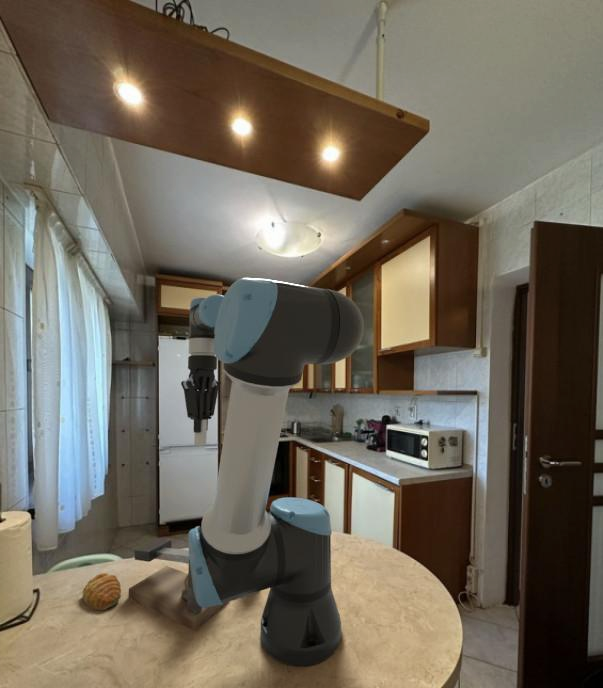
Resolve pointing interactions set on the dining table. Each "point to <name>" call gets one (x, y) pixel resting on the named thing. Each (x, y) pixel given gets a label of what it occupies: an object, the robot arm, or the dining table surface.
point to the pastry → (102, 591)
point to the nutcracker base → (172, 597)
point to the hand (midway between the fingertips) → (200, 444)
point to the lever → (161, 552)
